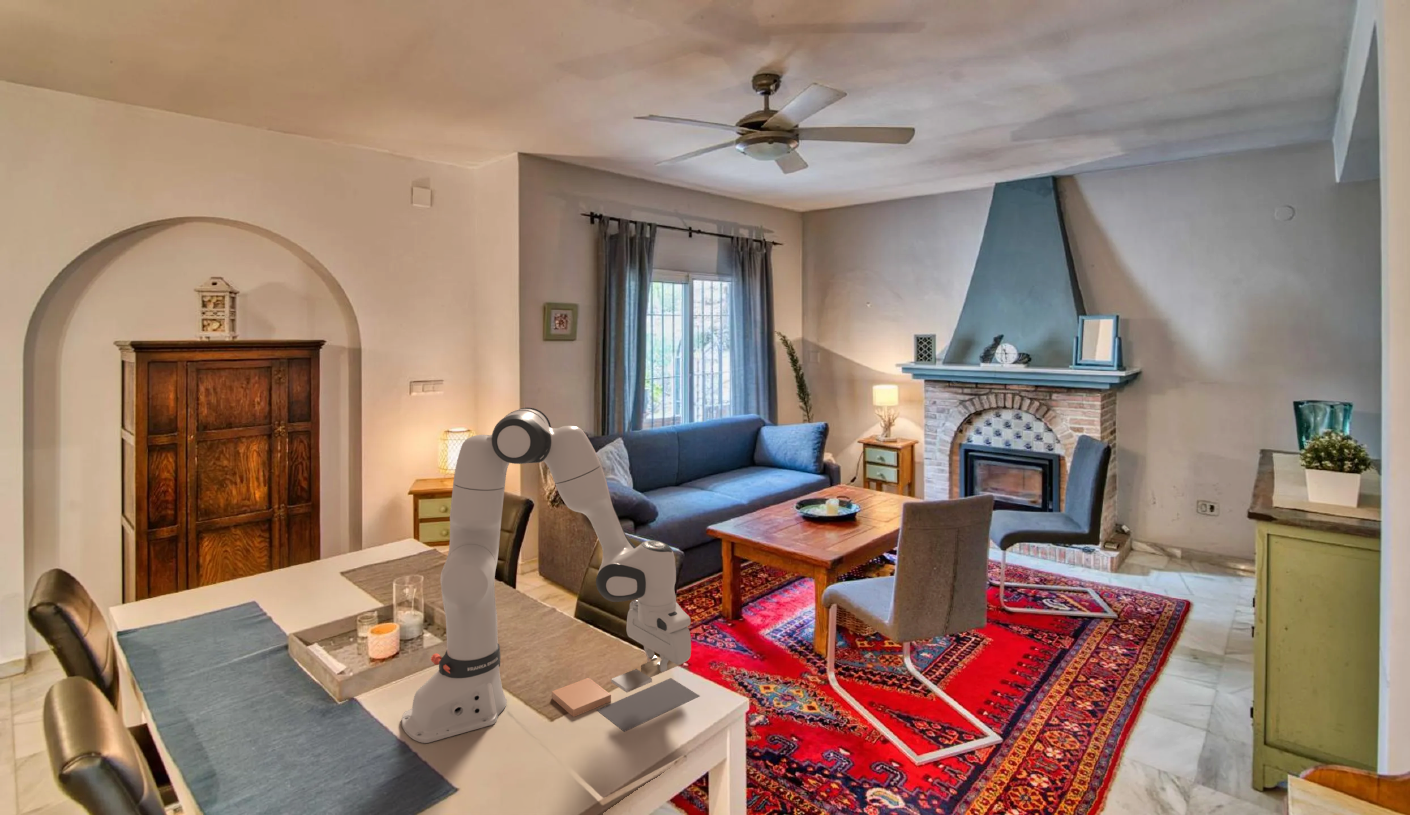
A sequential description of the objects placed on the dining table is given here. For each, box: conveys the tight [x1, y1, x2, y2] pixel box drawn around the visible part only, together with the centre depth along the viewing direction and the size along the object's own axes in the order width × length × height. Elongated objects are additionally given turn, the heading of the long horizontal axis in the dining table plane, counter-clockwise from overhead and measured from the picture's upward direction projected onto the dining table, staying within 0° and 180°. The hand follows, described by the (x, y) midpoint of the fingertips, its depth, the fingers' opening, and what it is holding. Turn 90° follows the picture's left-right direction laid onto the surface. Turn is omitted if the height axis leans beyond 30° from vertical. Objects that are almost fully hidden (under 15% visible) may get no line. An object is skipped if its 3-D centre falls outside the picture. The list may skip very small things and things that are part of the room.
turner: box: [611, 657, 685, 694], centre depth 158 cm, size 18×6×2 cm, turn 132°
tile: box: [551, 677, 612, 718], centre depth 159 cm, size 3×10×10 cm
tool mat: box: [596, 677, 700, 732], centre depth 159 cm, size 22×11×1 cm, turn 132°
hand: (657, 667), depth 159 cm, fingers closed on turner, 2 cm apart
